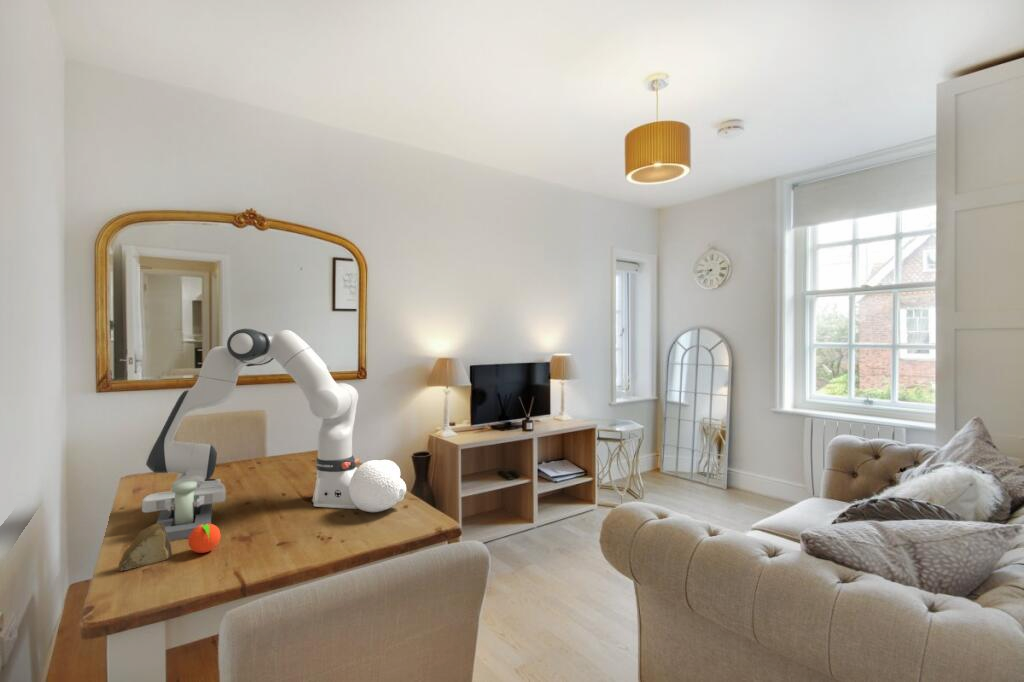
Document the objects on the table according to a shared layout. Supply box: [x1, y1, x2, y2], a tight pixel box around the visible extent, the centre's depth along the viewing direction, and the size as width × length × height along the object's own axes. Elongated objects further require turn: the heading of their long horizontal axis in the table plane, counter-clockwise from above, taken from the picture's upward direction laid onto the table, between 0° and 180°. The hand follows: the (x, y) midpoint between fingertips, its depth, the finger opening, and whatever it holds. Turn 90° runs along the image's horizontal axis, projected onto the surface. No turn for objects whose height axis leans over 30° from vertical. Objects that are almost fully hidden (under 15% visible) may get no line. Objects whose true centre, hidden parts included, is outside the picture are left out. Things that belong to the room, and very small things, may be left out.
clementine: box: [187, 523, 222, 554], centre depth 120 cm, size 8×7×7 cm
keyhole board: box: [155, 503, 213, 542], centre depth 138 cm, size 22×13×2 cm, turn 31°
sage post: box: [171, 481, 197, 526], centre depth 135 cm, size 6×6×12 cm
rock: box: [118, 523, 173, 572], centre depth 115 cm, size 10×8×10 cm
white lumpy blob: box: [349, 459, 407, 513], centre depth 152 cm, size 20×18×16 cm
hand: (184, 506), depth 134 cm, fingers closed on sage post, 4 cm apart
